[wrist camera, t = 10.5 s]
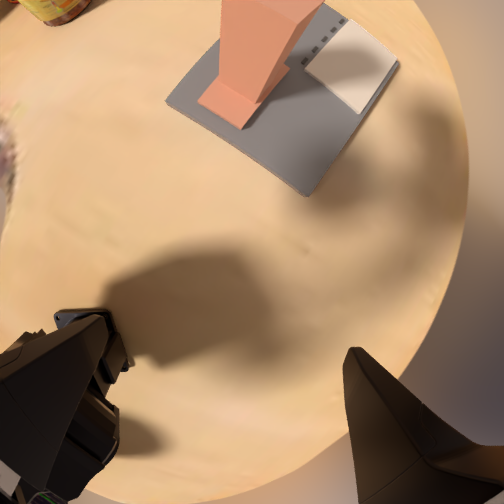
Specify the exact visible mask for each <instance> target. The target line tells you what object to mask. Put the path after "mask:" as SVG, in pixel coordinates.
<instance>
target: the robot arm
mask: <svg viewBox="0 0 504 504" xmlns="http://www.w3.org/2000/svg"><path fill="white" fill-rule="evenodd" d="M104 314H106V315H107V316H108V317H106V316H105V315H104ZM58 317H59V318H60V319H59V318H58ZM54 320H55V323H56V325H57V328H58V330H56V331H54V332H52V333H49V334H47V335H46V333H45V332H44V331H43V329H41V330H40V331H39V332H38V333H36V332H34V333H33V334H31V333H29V332H27V331H26V332H25V333H24V334H23V335H21V336H20V337H19V338H18V339H17V340H16V341H15V342H14V343H13V344H12V345H11V346H10V347H9V348H8V349H6V350H5V351H4V352H3V353H2V354H0V504H30V503H31V501H32V500H33V499H34V498H35V497H36V496H37V495H38V494H39V493H47V492H51V493H53V494H54V495H56V496H57V497H59V498H61V499H62V500H64V501H70V500H73V499H75V498H78V497H79V495H80V494H81V492H82V491H83V489H84V488H85V486H86V485H87V484H88V482H89V481H90V480H91V479H92V478H93V477H94V476H95V475H96V474H97V473H99V472H100V471H101V470H103V469H104V468H105V466H106V465H107V464H108V463H109V462H110V461H111V460H112V458H113V457H114V455H115V454H116V452H117V449H118V446H119V440H120V438H119V408H117V407H116V406H115V405H112V404H111V403H110V402H109V401H108V400H107V399H105V397H106V394H107V392H108V390H109V387H110V385H111V384H115V382H116V380H117V378H118V376H119V373H120V372H127V371H128V370H129V363H128V361H127V358H126V357H127V354H126V351H125V348H124V346H123V343H122V340H121V337H120V334H119V333H118V332H117V330H116V326H115V323H114V320H113V317H112V314H111V312H110V311H109V310H106V309H104V310H85V311H62V312H56V313H55V314H54ZM123 366H125V367H123ZM343 383H344V400H345V409H346V415H347V421H348V427H349V433H350V440H351V446H352V453H353V460H354V468H355V475H356V484H357V493H358V502H359V504H504V446H485V445H479V444H476V443H474V442H472V441H471V440H469V439H468V438H466V437H465V436H464V435H462V434H461V433H460V432H458V431H457V430H456V429H454V428H453V427H451V426H450V425H448V424H447V423H446V422H445V421H443V420H442V419H441V418H440V417H438V416H437V415H436V414H435V413H434V412H432V411H431V410H430V409H429V408H428V407H427V406H426V405H425V404H424V403H422V402H421V401H420V400H419V399H418V398H417V397H416V396H415V395H413V394H412V393H411V392H410V391H409V390H408V389H407V388H406V387H405V386H404V385H403V384H401V383H400V382H399V381H398V380H397V379H396V378H395V377H394V376H393V375H392V374H390V373H389V372H388V371H387V370H386V369H385V368H384V367H383V366H382V365H380V364H379V363H378V362H377V361H376V360H375V359H374V358H373V357H372V356H370V355H369V354H368V353H367V352H366V351H365V350H364V349H363V348H361V347H350V348H349V350H348V352H347V355H346V358H345V360H344V363H343Z"/></svg>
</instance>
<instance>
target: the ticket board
mask: <svg viewBox="0 0 504 504" xmlns="http://www.w3.org/2000/svg"><path fill="white" fill-rule="evenodd" d="M219 53H220V39H219V40H218V41H217V42H216V43H215V44H214V45H213V46H212V47H211V48H210V49H209V50H208V51H207V52H206V53H205V54H204V55H203V56H202V57H201V58H200V59H199V61H198V62H197V63H196V64H195V65H194V66H193V67H192V68H191V70H190V71H189V72H188V73H187V74H186V75H185V76H184V78H183V79H182V80H181V81H180V82H179V84H178V85H177V86H176V87H175V89H174V90H173V91H172V92H171V94H170V95H169V96H168V97H167V99H166V100H165V102H166V103H167V105H168V106H170V107H172V108H173V109H175V110H177V111H178V112H180V113H182V114H183V115H185V116H187V117H188V118H190V119H192V120H193V121H195V122H197V123H198V124H200V125H201V126H203V127H205V128H206V129H208V130H209V131H211V132H212V133H214V134H216V135H217V136H219V137H220V138H222V139H223V140H225V141H226V142H228V143H229V144H231V145H232V146H234V147H235V148H237V149H238V150H240V151H241V152H243V153H244V154H246V155H247V156H248V157H250V158H251V159H253V160H254V161H256V162H257V163H259V164H260V165H261V166H263V167H264V168H266V169H267V170H268V171H270V172H271V173H273V174H274V175H275V176H277V177H278V178H279V179H281V180H282V181H283V182H285V183H286V184H288V185H289V186H290V187H292V188H293V189H294V190H296V191H297V192H298V193H299V194H301V195H302V196H303V197H309V196H310V194H311V193H312V191H313V190H314V189H315V187H316V186H317V184H318V183H319V181H320V180H321V179H322V177H323V176H324V174H325V173H326V171H327V170H328V168H329V167H330V165H331V164H332V163H333V161H334V160H335V158H336V157H337V155H338V154H339V152H340V151H341V149H342V148H343V147H344V145H345V144H346V142H347V141H348V139H349V138H350V136H351V135H352V133H353V132H354V130H355V129H356V127H357V126H358V125H359V123H360V122H361V120H362V119H363V117H364V116H365V114H366V113H367V111H368V110H369V108H370V107H371V105H372V104H373V102H374V101H375V99H376V98H377V96H378V95H379V93H380V92H381V90H382V89H383V87H384V86H385V84H386V83H387V81H388V80H389V78H390V77H391V75H392V74H393V72H394V71H395V69H396V68H397V66H398V65H399V63H398V62H397V61H396V60H397V59H398V58H397V57H396V56H395V55H394V54H393V53H392V52H391V51H389V50H388V49H387V48H386V47H385V46H384V45H383V44H382V43H381V42H379V41H378V40H377V39H376V38H375V37H374V36H372V35H371V34H370V33H369V32H368V31H366V30H365V29H364V28H363V27H361V26H360V25H359V24H358V23H356V22H355V21H354V20H352V19H350V20H348V19H346V18H345V17H344V16H342V15H341V14H339V13H338V12H337V11H335V10H334V9H332V8H331V7H329V6H328V5H326V4H325V3H323V4H322V5H321V7H320V8H319V10H318V11H317V13H316V14H315V15H314V17H313V18H312V20H311V21H310V23H309V24H308V26H307V27H306V29H305V30H304V32H303V34H302V35H301V37H300V38H299V40H298V41H297V43H296V44H295V46H294V48H293V49H292V51H291V52H290V54H289V56H288V57H287V59H286V60H285V62H284V64H285V65H286V66H288V67H289V68H290V70H289V71H288V72H287V73H286V75H285V76H284V77H283V78H282V79H281V80H280V82H279V83H278V84H277V85H276V86H275V88H274V89H273V90H272V91H271V92H270V94H269V95H268V96H267V97H266V98H265V100H264V101H263V102H262V103H261V105H260V106H259V107H258V108H257V110H256V111H255V112H254V113H253V115H252V116H251V117H250V119H249V120H248V121H247V122H246V124H245V125H244V126H243V128H242V129H241V130H239V129H238V128H236V127H235V126H233V125H232V124H230V123H229V122H227V121H226V120H224V119H223V118H221V117H219V116H218V115H216V114H215V113H213V112H211V111H210V110H208V109H207V108H205V107H203V106H202V105H200V104H198V99H199V98H200V97H201V96H202V94H203V93H204V92H205V91H206V89H207V88H208V87H209V86H210V85H211V84H212V82H213V81H214V80H215V79H216V78H217V77H218V75H219Z"/></svg>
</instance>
